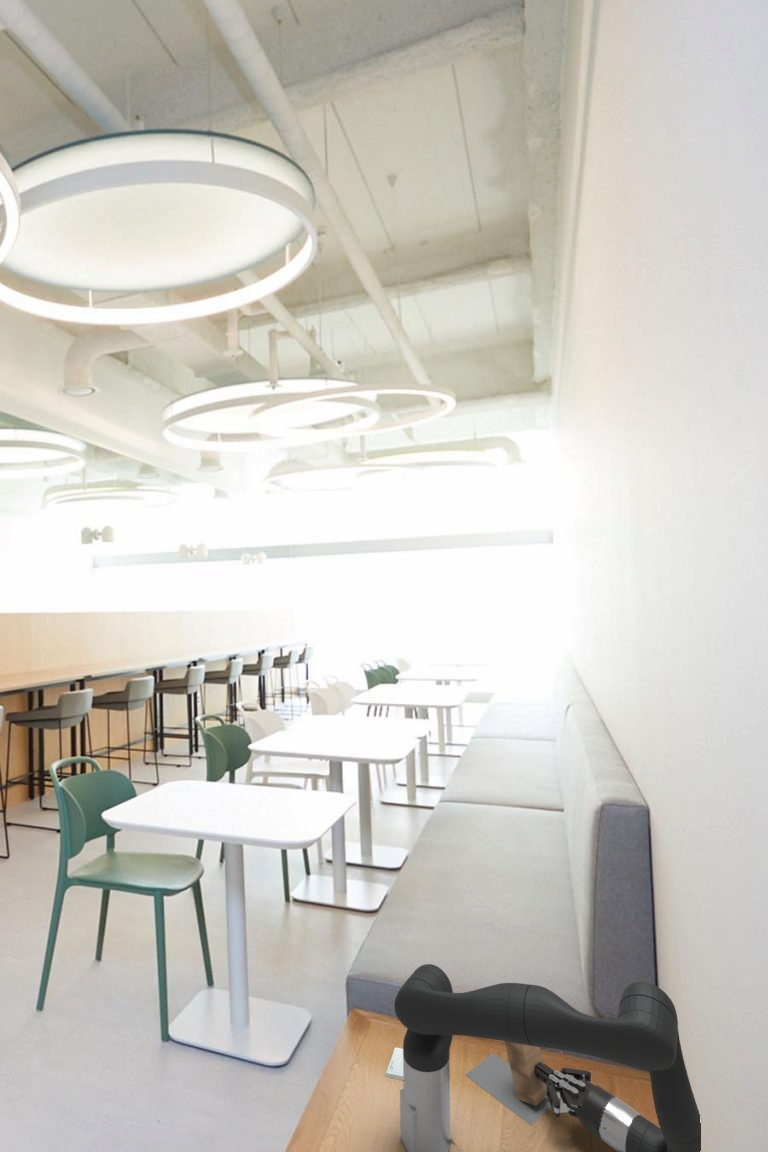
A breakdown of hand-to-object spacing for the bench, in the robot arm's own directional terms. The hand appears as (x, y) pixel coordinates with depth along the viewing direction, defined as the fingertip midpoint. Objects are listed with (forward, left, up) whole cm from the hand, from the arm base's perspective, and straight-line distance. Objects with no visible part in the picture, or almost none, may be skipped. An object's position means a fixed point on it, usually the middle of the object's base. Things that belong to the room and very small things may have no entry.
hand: (536, 1068), depth 136 cm
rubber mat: (-3, +6, -8) cm, 10 cm away
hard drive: (-19, +19, -9) cm, 29 cm away
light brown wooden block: (0, +1, -6) cm, 7 cm away
